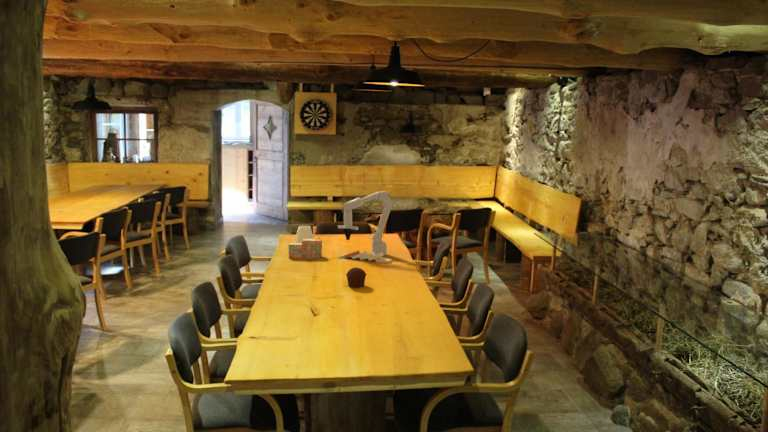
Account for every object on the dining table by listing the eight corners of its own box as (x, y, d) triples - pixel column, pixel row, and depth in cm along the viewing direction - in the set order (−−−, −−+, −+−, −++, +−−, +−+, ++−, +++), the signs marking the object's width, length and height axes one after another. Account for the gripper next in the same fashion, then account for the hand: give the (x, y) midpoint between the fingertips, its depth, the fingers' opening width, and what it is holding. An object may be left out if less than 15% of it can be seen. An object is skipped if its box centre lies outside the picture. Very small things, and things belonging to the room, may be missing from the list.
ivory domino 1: (356, 257, 402) (367, 254, 399) (352, 259, 398) (364, 255, 394) (355, 254, 402) (366, 251, 399) (351, 256, 398) (363, 252, 394)
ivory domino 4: (378, 260, 396) (391, 262, 393) (375, 261, 392) (388, 264, 388) (378, 256, 396) (391, 259, 393) (375, 258, 391) (388, 260, 388)
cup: (317, 246, 440) (317, 227, 437) (300, 248, 432) (300, 229, 430) (308, 242, 451) (308, 224, 448) (292, 245, 443) (291, 226, 441)
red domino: (348, 256, 405) (359, 253, 401) (345, 258, 400) (356, 254, 396) (347, 254, 405) (358, 250, 401) (344, 255, 400) (355, 251, 396)
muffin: (368, 288, 335) (368, 270, 333) (349, 289, 332) (349, 271, 330) (363, 282, 346) (363, 265, 344) (344, 283, 343) (344, 266, 341)
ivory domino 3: (372, 259, 398) (383, 255, 394) (369, 261, 393) (380, 256, 390) (371, 256, 398) (382, 252, 394) (367, 258, 393) (379, 253, 390)
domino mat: (380, 260, 397) (380, 259, 397) (375, 263, 390) (375, 262, 390) (342, 256, 408) (342, 255, 408) (336, 259, 401) (336, 258, 401)
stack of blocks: (288, 258, 403) (288, 240, 401) (290, 256, 409) (290, 238, 407) (320, 259, 401) (320, 240, 399) (322, 256, 408) (321, 238, 406)
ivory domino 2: (363, 258, 400) (375, 255, 397) (360, 260, 396) (372, 256, 392) (362, 255, 400) (374, 252, 397) (359, 257, 396) (371, 253, 392)
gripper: (335, 220, 408) (335, 239, 411) (355, 221, 403) (355, 241, 405) (340, 218, 415) (340, 238, 417) (359, 220, 409) (359, 239, 412)
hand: (348, 239), depth 412 cm, fingers closed
